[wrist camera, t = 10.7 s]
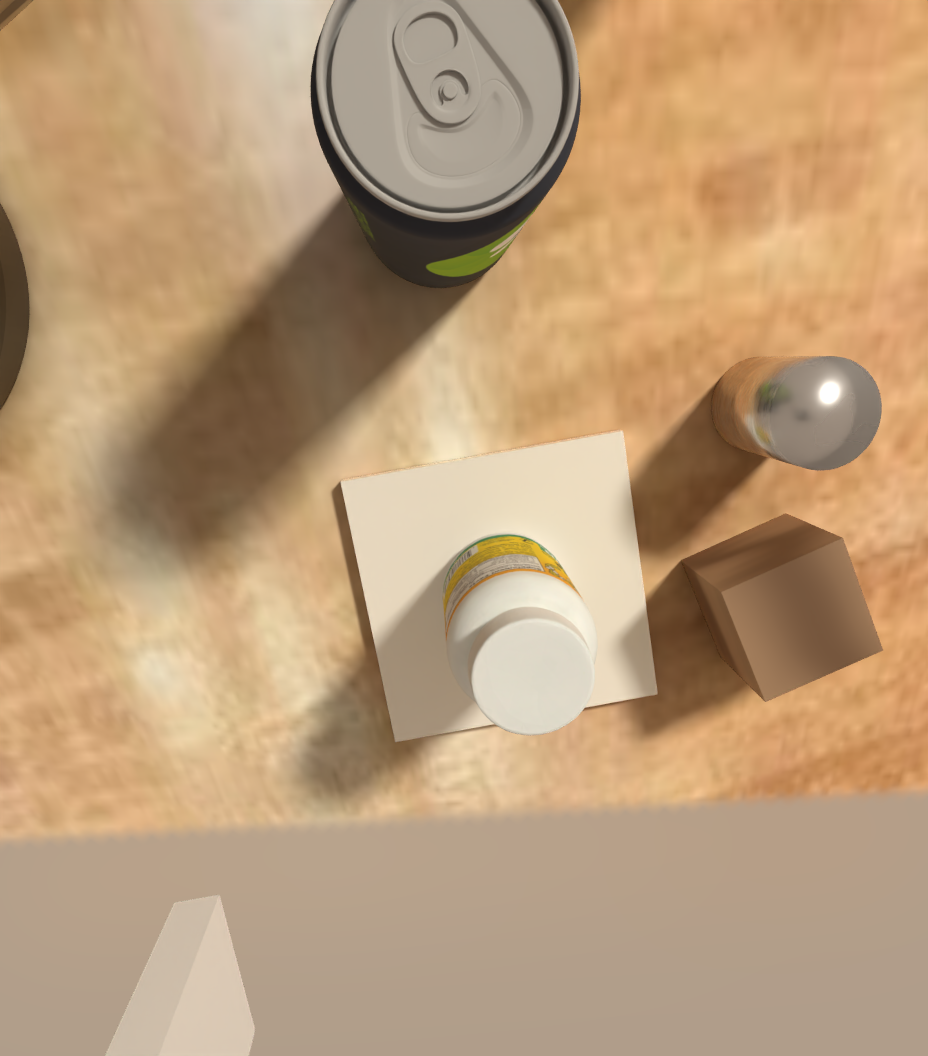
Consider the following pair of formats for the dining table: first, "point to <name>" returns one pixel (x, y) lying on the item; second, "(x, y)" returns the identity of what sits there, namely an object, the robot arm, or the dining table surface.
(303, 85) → the dining table surface
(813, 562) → the walnut block
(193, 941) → the robot arm
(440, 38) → the beverage can
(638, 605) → the coaster
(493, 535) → the supplement bottle
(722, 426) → the cylinder
